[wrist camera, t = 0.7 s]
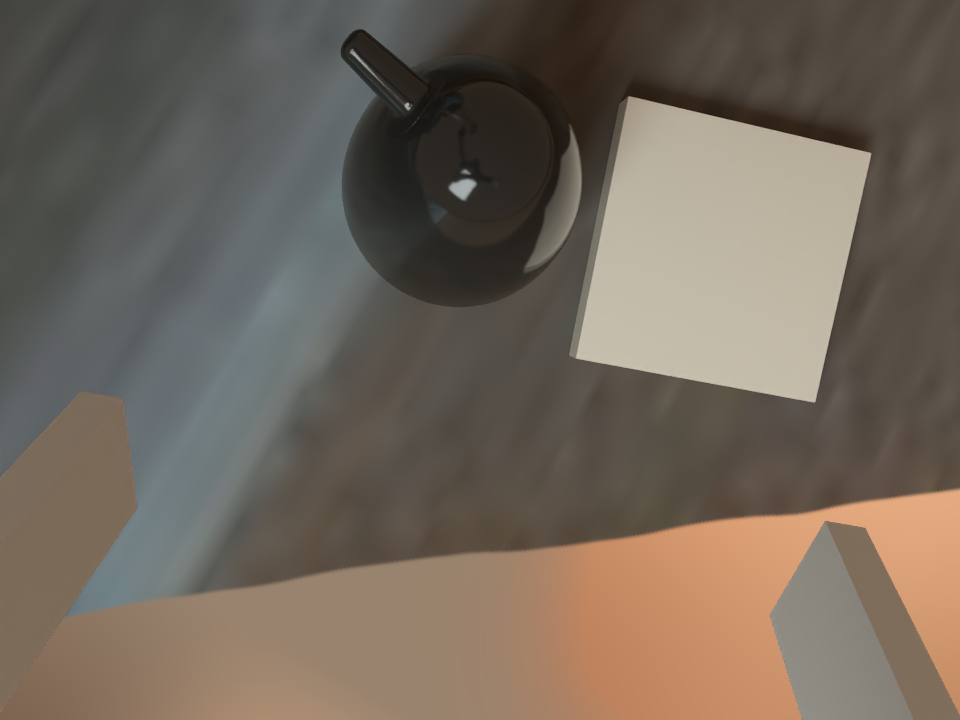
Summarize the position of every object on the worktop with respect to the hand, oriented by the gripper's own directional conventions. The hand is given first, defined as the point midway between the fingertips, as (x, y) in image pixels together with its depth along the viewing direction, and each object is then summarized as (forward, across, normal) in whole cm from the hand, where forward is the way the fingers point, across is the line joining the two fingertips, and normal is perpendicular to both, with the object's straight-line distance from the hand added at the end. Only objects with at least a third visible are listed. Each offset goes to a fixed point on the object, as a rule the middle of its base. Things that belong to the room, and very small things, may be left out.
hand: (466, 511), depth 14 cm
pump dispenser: (+25, -3, -4) cm, 25 cm away
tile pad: (+26, +11, -4) cm, 28 cm away
